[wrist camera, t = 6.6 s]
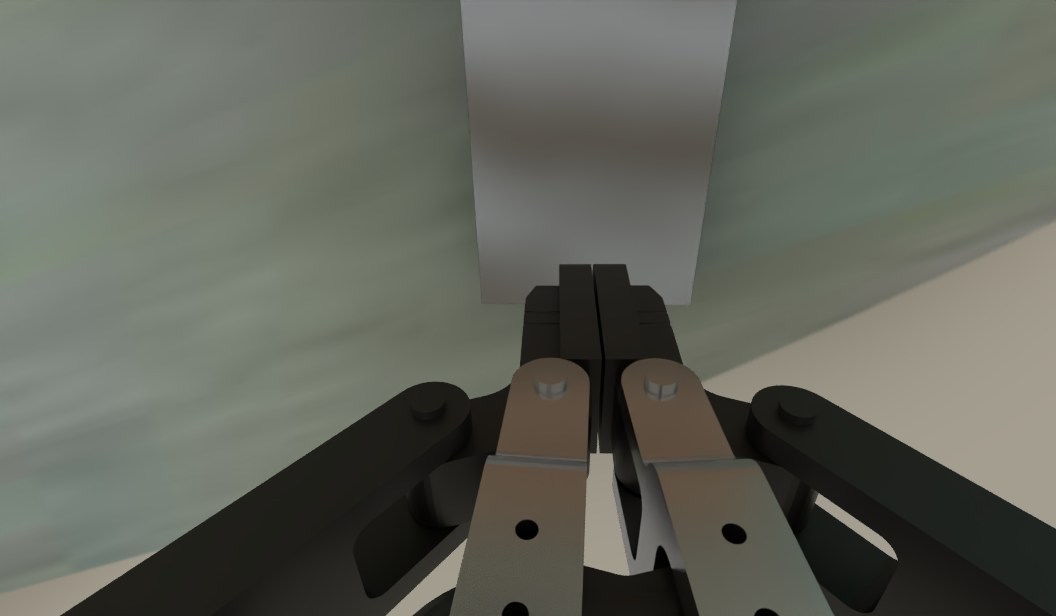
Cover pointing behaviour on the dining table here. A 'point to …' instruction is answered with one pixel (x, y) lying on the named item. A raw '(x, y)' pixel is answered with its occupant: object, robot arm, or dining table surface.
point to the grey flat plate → (592, 137)
